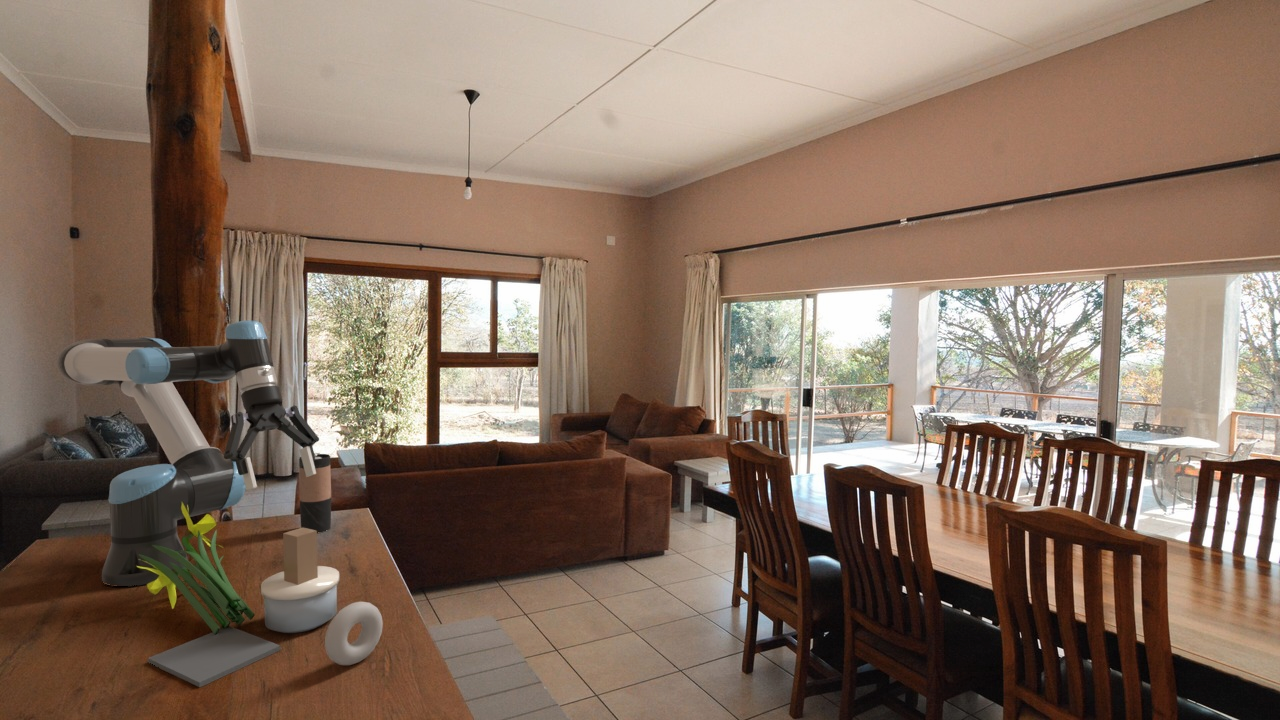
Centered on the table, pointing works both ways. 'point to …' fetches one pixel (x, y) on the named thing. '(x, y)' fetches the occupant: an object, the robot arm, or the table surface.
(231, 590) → the daffodil flowers
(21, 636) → the table surface
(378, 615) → the donut
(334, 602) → the light blue short cylinder
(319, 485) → the travel mug
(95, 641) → the table surface
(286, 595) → the lid
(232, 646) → the mat
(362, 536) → the table surface
